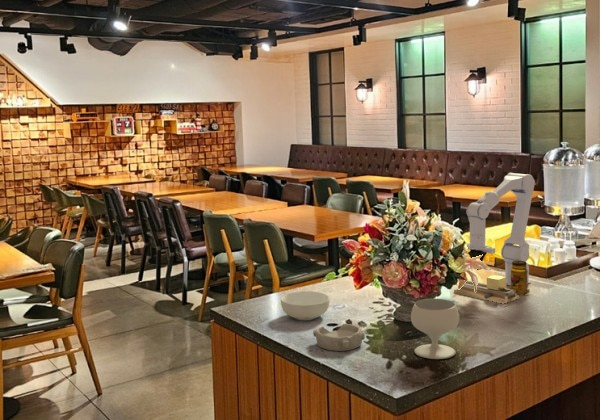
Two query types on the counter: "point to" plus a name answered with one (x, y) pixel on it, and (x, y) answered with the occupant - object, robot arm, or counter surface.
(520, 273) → the condiment
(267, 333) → the counter surface
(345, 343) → the dish
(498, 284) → the pale yellow cube
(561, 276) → the counter surface
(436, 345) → the chalice
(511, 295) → the wooden tray
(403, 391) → the counter surface
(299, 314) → the cereal bowl
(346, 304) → the counter surface
